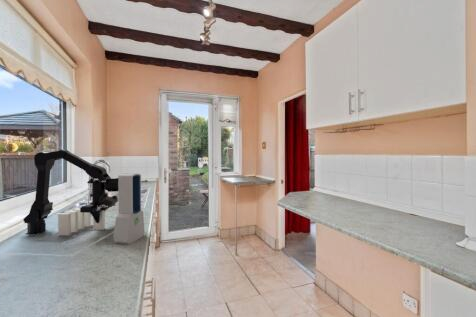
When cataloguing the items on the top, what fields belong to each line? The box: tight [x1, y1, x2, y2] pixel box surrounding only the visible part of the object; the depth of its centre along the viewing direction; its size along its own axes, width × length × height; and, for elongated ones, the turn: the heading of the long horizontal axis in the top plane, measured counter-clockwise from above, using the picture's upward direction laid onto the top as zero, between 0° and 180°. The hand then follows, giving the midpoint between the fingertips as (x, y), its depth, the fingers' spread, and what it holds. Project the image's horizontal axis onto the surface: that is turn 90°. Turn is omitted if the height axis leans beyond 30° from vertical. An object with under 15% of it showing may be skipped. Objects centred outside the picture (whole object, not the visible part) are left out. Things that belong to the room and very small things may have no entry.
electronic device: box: [112, 173, 146, 245], centre depth 106 cm, size 12×8×30 cm, turn 168°
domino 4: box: [78, 206, 92, 227], centre depth 124 cm, size 5×2×10 cm, turn 85°
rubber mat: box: [36, 224, 93, 243], centre depth 114 cm, size 12×24×1 cm, turn 175°
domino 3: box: [72, 208, 85, 229], centre depth 120 cm, size 5×2×10 cm, turn 85°
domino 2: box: [65, 210, 78, 232], centre depth 115 cm, size 5×2×10 cm, turn 85°
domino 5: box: [92, 210, 106, 231], centre depth 119 cm, size 5×2×10 cm, turn 85°
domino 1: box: [57, 212, 71, 235], centre depth 111 cm, size 5×2×10 cm, turn 85°
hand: (99, 222), depth 119 cm, fingers closed on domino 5, 2 cm apart
